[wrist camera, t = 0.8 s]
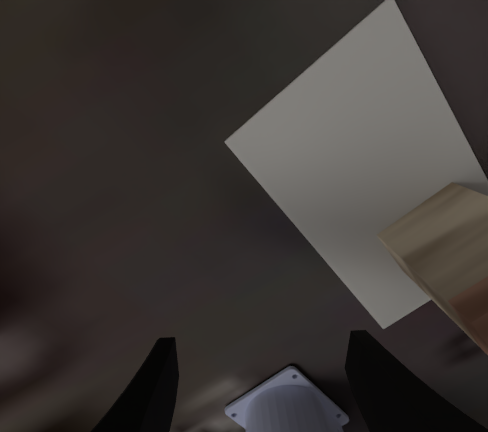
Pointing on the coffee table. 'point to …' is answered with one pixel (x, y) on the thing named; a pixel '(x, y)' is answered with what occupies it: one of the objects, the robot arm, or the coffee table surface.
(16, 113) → the coffee table surface
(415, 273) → the wooden block
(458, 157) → the grey mat
